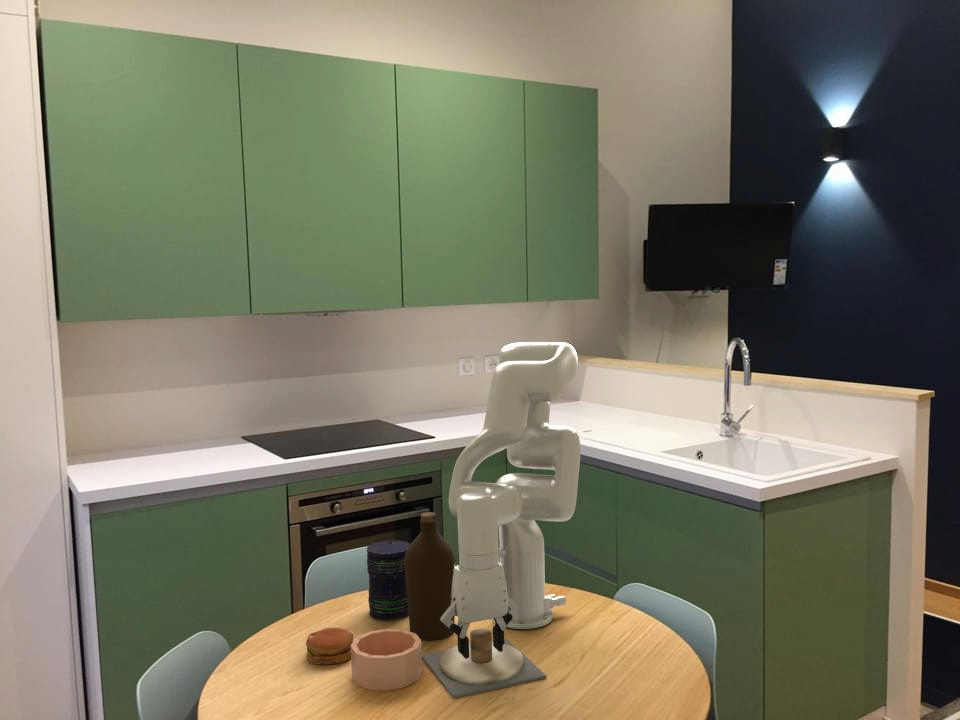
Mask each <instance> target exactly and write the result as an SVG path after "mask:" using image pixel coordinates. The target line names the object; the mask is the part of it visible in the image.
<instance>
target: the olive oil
mask: <svg viewBox="0 0 960 720" xmlns="http://www.w3.org/2000/svg"><path fill="white" fill-rule="evenodd" d="M419 522H420V533H419V534H417V536H416V538H415V539H414V540H413V541H412V542H411V543H409V544H410V546H409V547H408V549H407V551H406V554H405V559H404V565H405V576H406V587H407V599H408V612H409V616H408V624H409V625H408V626H409V627H408V629H409V632H412V633H415V634H417V636H418V637H419V638H420V639H421V641H422V640H423V641H437V640H441V639H442V640H443V639H446V638H448V637H450V636H451V635H453V633H454V632H453V631H452V630H451V629H450V628H448V627H447V626H446V625H445V624H444V623H443V622H442V621H441V620H440V618H441V617H442V615H443V614H444V613H445V612H446V610H447V609H448V608H449V607H450V605H451V590H452V580H453V573H454V568H455V566H457V565H456V564H457V563H456V556H455V555H456V554H455V551H454V548H453V547H452V545H451V544H450V542H448V541H447V540H446V539H445V538H444V537H443V536H442V535H441V534H440V533H439V532H438V521H437V514H436V512H431V511H429V512H428V511H427V512H423V513H421V514H420V521H419ZM455 619H456V616H453V617H452V618H451V621H452V622H454V623H455V622H456V621H455ZM455 624H456V623H455Z"/></svg>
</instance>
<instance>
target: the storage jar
mask: <svg viewBox="0 0 960 720" xmlns="http://www.w3.org/2000/svg"><path fill="white" fill-rule="evenodd" d="M410 544H411V543H409V542H407V541H404V540H398V539H393V540H392V539H390V540H389V539H388V540H380V541H376V542H373V543H371V544H369V545H367V547H366V553H367V555H366V558H367V559H366V565H367V568H366V571H367V574H368V582H369V585H368V587H369V588H368V598H367V599H368V607H369V617H371V619H374V620H377V621H381V620H382V621H383V622H391V620H394V621H400V620H403V619H406V618H409V612H408V599H407V587H406V576H405V565H404V559H405V554H406V551H407V549H408V547H409V546H410ZM405 617H406V618H405ZM402 618H403V619H402ZM399 619H400V620H399ZM382 621H381V622H382Z"/></svg>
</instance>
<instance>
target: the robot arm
mask: <svg viewBox="0 0 960 720" xmlns="http://www.w3.org/2000/svg"><path fill="white" fill-rule="evenodd" d="M498 362H499V363H498V365H497V366H496V367H495V368H494V370H493V373H492V377H491V382H490V388H489V393H488V398H487V404H486V411H485V416H484V423H483V428H482V429H481V432H480V433H478V435H476V436H475V437H474V438H473V439H472V440H471V441H470V442H469V443H468V444H467V445H466V446H465V448H464V449H463V450H462V451H461V453H460V454H459V456H458V457H457V459H456V462H455V464H454V467H453V470H452V475H451V482H450V487H449V490H448V491H449V494H448V508H449V511H450V513H451V515H452V516H453V517H454V518H456V519H457V542H458V543H457V545H458V548H457V549H458V565H456V566H455V568H454V573H453V580H452V590H451V605H450V607H449V608H448V609H447V610H446V612H445V613H444V614H443V615H442V617H441V618H440V620H441V621H442V622H443V623H444V624H445V625H446V626H447V627H448V628H450V629H451V630H452V631H453V633H454V634H455V635H457V636H456V637H457V639H456V640H457V645H458V651H459V653H461V655H462V656H463V657H464V658H465V659H467V658H469V642H470V639H469V637H468V636H467V633H468V630H469V627H470V625H471V623H476V622H477V623H478V622H483V621H488V620H492V619H493V622H494V625H493V626H492V641H493V646H494V647H495V648H496V649H497V650H498V651H499V652H502V651H503V645H504V639H505V631H506V630H507V628H509V629H516V630H531V629H538V628H541V627H544V626H546V625H548V624H550V623H551V622H552V621H553V618H554V614H553V611H552V609H554V607H560V606H566V604H567V598H566V597H565V596H564V595H560V596H556V595H555V594H548V595H546V576H545V575H546V573H545V568H546V567H545V538H544V535H543V532H542V530H541V528H540V527H539V525H538V523H537V522H536V521H545V522H567V521H569V520H570V519H571V518H572V517H573V516H574V513H575V510H576V506H577V500H578V499H577V498H578V497H577V496H578V489H579V488H578V485H579V477H580V476H579V474H580V464H581V449H582V448H581V441H580V436H579V434H578V432H577V431H576V430H575V429H574V428H573V427H570V426H568V425H567V426H566V425H554V424H553V425H552V424H550V411H551V404H550V403H555V402H557V401H558V400H559V399H560V398H561V397H562V396H563V395H564V393H565V391H566V390H567V388H568V387H569V385H570V384H571V383H572V381H573V379H574V377H575V375H576V372H577V368H578V354H577V352H576V349H575V348H574V347H573V345H572V344H569V343H567V342H534V341H533V342H527V341H526V342H514V343H513V342H512V343H510V344H506V345H505V346H503V347H502V348H501V349H500V351H499V355H498ZM505 449H506V457H507V461H508V462H509V463H510V464H511V465H512V466H514V467H517V468H523V469H534V470H550V471H551V470H552V471H554V473H555V474H537V473H526V472H525V473H523V472H515V473H513V472H512V473H508V474H504V475H502V476H500V477H499V478H498V479H497V481H496V482H487V481H486V482H485V481H482V482H481V481H472V478H473V475H474V472H475V470H476V469H477V468H478V466H479V465H480V464H481V463H482V462H483V461H484V460H485V459H488V458H489V457H491V456H493V455H495V454H497V453H499V452H501V451H503V450H505ZM453 616H455V617H457V622H456V623H454V622H452V621H451V618H452V617H453Z"/></svg>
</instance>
